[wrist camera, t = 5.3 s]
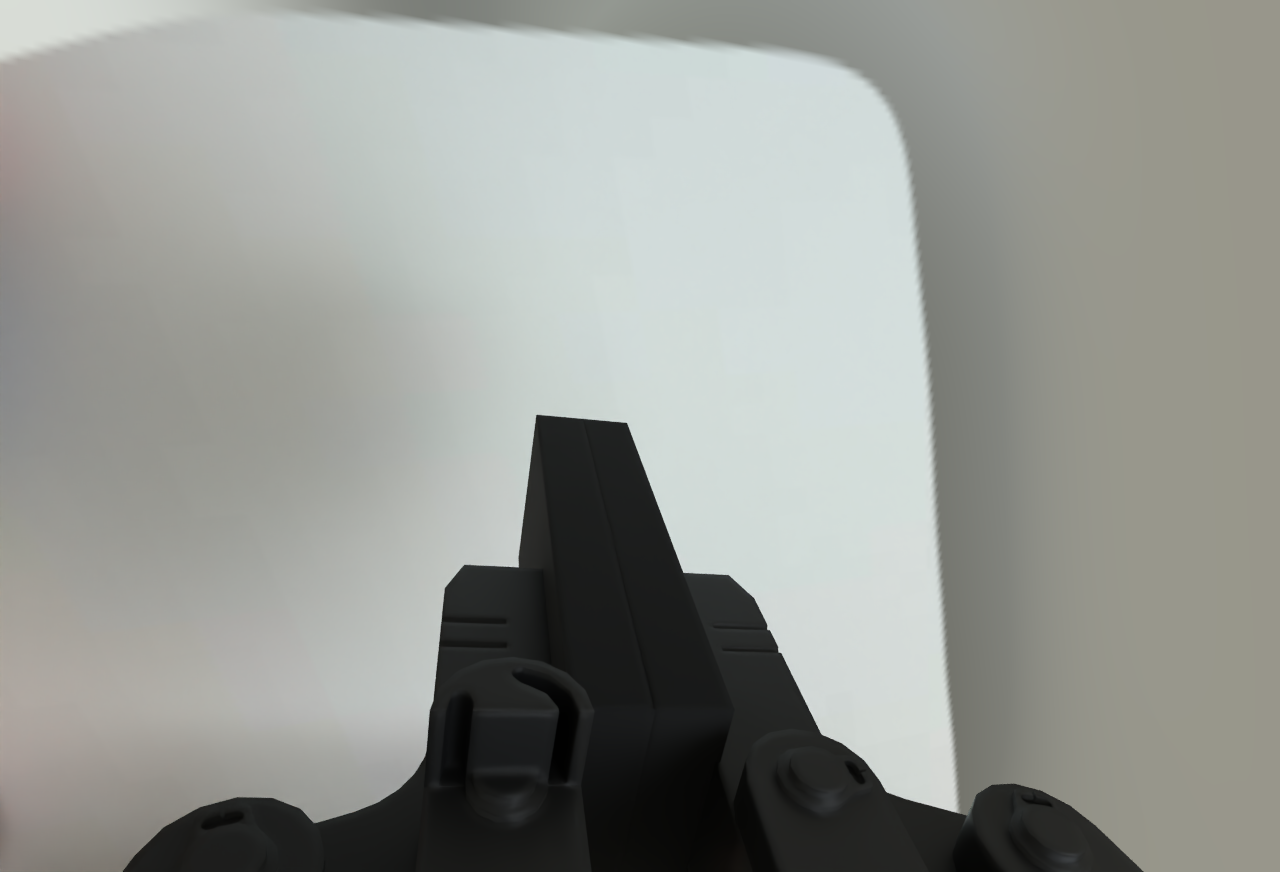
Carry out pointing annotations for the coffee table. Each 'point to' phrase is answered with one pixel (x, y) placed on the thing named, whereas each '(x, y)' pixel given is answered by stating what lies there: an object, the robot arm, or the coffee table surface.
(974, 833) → the robot arm
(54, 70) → the coffee table surface
